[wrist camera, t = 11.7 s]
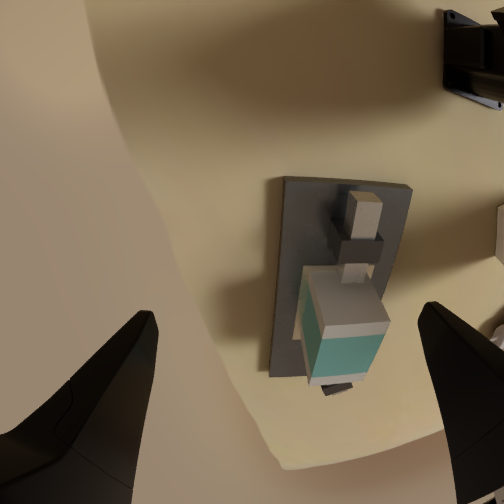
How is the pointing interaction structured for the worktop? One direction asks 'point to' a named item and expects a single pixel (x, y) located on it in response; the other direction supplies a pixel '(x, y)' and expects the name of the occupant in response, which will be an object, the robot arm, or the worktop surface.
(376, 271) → the shaft stand
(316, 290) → the block
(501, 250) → the milk
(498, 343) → the charger
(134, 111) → the worktop surface
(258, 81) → the worktop surface
